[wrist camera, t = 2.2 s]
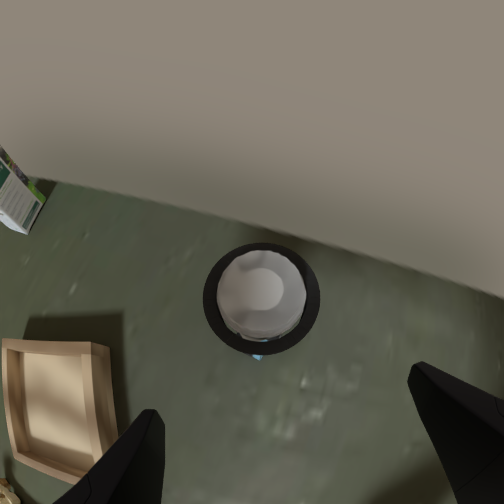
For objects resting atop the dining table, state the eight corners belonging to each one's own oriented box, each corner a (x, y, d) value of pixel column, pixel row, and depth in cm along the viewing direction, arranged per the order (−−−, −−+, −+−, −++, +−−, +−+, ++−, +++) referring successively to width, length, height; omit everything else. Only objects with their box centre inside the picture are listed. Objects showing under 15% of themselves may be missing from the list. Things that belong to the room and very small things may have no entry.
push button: (253, 271, 22) (245, 196, 13) (314, 296, 21) (348, 235, 12) (216, 344, 20) (175, 317, 11) (280, 374, 19) (294, 373, 10)
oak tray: (129, 485, 14) (112, 496, 11) (32, 456, 14) (14, 458, 11) (109, 347, 20) (90, 341, 17) (20, 344, 20) (2, 338, 17)
